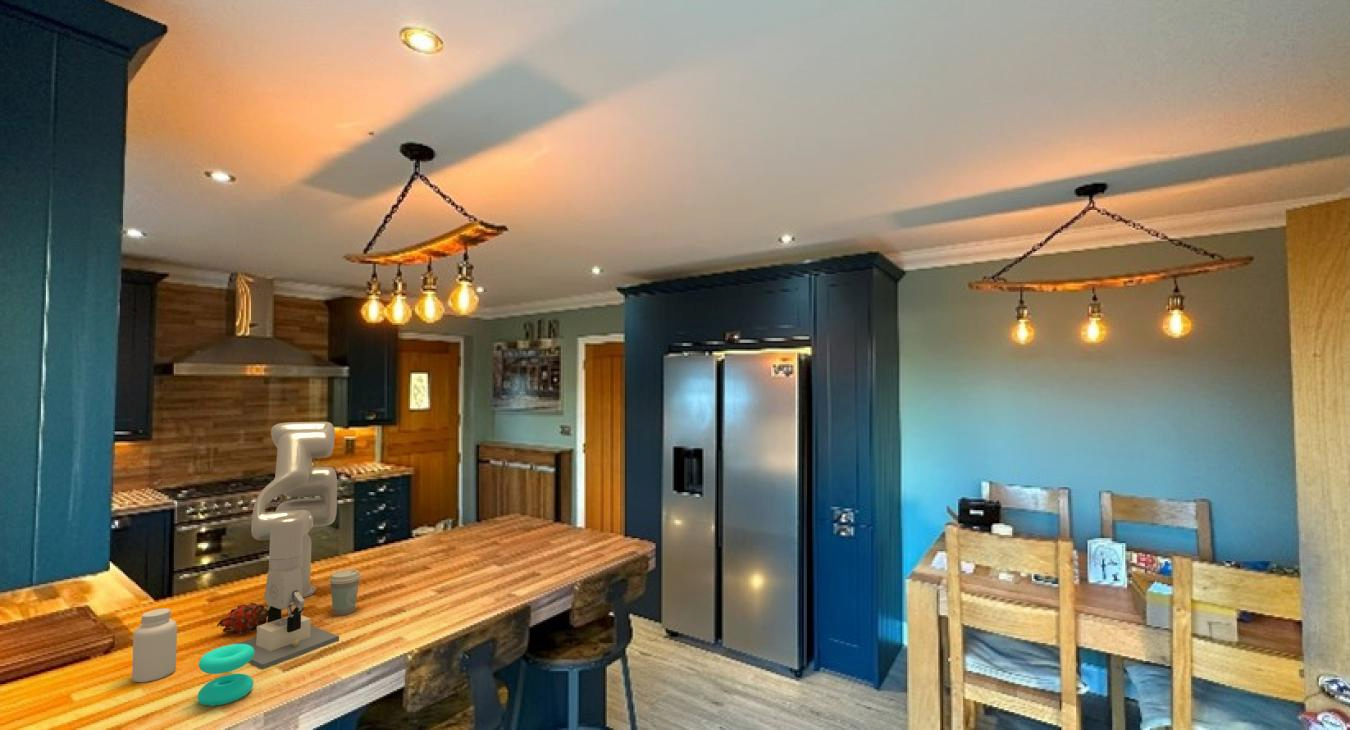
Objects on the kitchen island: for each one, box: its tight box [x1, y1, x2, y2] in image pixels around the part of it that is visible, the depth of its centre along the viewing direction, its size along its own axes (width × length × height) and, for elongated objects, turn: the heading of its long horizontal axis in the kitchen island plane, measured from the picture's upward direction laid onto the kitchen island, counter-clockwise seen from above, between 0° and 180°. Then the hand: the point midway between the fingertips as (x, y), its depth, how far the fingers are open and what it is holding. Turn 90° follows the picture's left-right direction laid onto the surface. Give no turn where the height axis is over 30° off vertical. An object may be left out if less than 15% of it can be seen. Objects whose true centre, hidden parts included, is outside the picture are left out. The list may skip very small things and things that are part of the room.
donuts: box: [197, 643, 254, 707], centre depth 131 cm, size 10×10×10 cm
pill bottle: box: [131, 608, 178, 683], centre depth 140 cm, size 8×8×15 cm
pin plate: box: [235, 617, 340, 670], centre depth 156 cm, size 19×19×7 cm
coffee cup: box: [328, 568, 361, 617], centre depth 180 cm, size 8×9×12 cm
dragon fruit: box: [216, 602, 269, 636], centre depth 165 cm, size 8×8×12 cm
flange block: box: [256, 614, 312, 651], centre depth 156 cm, size 10×7×5 cm
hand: (283, 626), depth 156 cm, fingers open, 9 cm apart
